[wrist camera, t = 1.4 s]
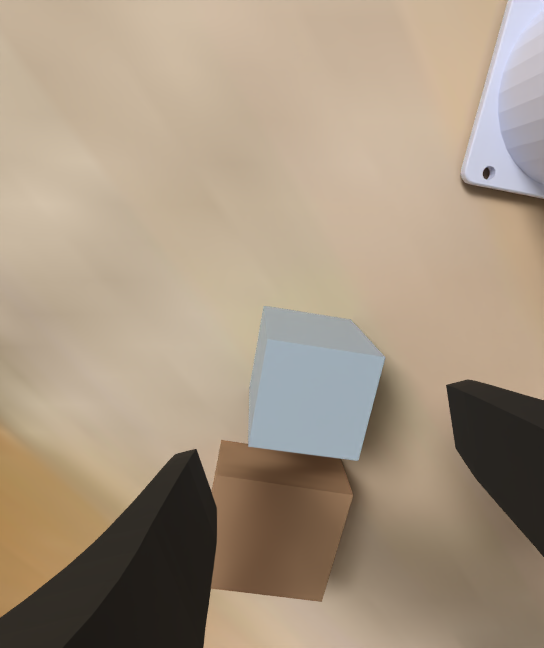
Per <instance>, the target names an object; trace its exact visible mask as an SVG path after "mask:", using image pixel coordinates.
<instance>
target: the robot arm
mask: <svg viewBox="0 0 544 648" xmlns="http://www.w3.org/2000/svg"><path fill="white" fill-rule="evenodd" d="M485 168H488V169H489V171H490V175H489V177H488V179H484V177H483V170H484V169H485ZM461 177H462V179H463V181H464V182H465V183H468V184H471V185H476V186H481V187H486V188H491V189H496V190H501V191H506V192H511V193H516V194H522V195H527V196H532V197H537V198H542V199H544V0H508V2H507V6H506V9H505V13H504V16H503V20H502V24H501V27H500V31H499V35H498V38H497V42H496V45H495V49H494V53H493V56H492V60H491V63H490V67H489V71H488V74H487V78H486V82H485V85H484V89H483V92H482V96H481V100H480V103H479V107H478V110H477V114H476V118H475V121H474V125H473V129H472V132H471V136H470V139H469V143H468V147H467V150H466V154H465V158H464V161H463V165H462V168H461ZM446 387H447V394H448V400H449V407H450V414H451V420H452V427H453V434H454V441H455V447H456V449H457V451H458V453H459V454H460V456H461V457H462V459H463V460H464V462H465V463H466V465H467V466H468V468H469V469H470V471H471V472H472V474H473V475H474V477H475V478H476V479H477V480H478V482H479V483H480V484H481V485H482V486H483V488H484V489H485V490H486V491H487V492H488V493H489V495H490V496H491V497H492V498H493V499H494V500H495V501H496V503H497V504H498V505H499V506H500V507H501V508H502V509H503V511H504V512H505V513H506V514H507V515H508V516H509V517H510V519H511V520H512V521H513V522H514V523H515V524H516V525H517V527H518V528H519V529H520V530H521V531H522V532H523V533H524V535H525V536H526V537H527V538H528V539H529V540H530V541H531V543H532V544H533V545H534V546H535V547H536V548H537V549H538V551H539V552H540V553H541V554H542V556H543V557H544V400H540V399H537V398H533V397H530V396H526V395H523V394H519V393H516V392H513V391H509V390H506V389H502V388H499V387H496V386H492V385H489V384H485V383H481V382H477V381H473V380H464V381H460V382H456V383H452V384H448V385H446ZM216 546H217V507H216V504H215V501H214V498H213V495H212V492H211V489H210V487H209V484H208V481H207V478H206V475H205V472H204V469H203V467H202V464H201V461H200V458H199V455H198V452H197V450H196V449H194V450H190V451H186V452H182V453H178V454H175V455H174V456H173V457H172V458H171V459H170V460H169V461H168V462H167V463H166V465H165V466H164V467H163V468H162V469H161V470H160V471H159V473H158V474H157V475H156V476H155V477H154V478H153V480H152V481H151V482H150V483H149V484H148V485H147V487H146V488H145V489H144V490H143V491H142V492H141V493H140V495H139V496H138V497H137V498H136V499H135V500H134V501H133V502H132V504H131V505H130V506H129V507H128V508H127V509H126V510H125V511H124V512H123V513H122V514H121V515H120V516H119V517H118V518H117V519H116V520H115V522H114V523H113V524H112V525H111V526H110V527H109V528H108V529H107V530H106V531H105V532H104V533H103V534H102V535H101V536H100V537H99V538H98V539H97V540H96V541H95V542H94V543H93V544H91V545H90V546H89V547H88V548H87V549H86V550H85V551H84V552H83V553H82V554H80V555H79V556H78V557H77V558H76V559H75V560H74V561H73V562H71V563H70V564H69V565H68V566H67V567H66V568H64V569H63V570H62V571H61V572H59V573H58V574H57V575H56V576H54V577H53V578H52V579H51V580H49V581H48V582H47V583H46V584H44V585H43V586H42V587H41V588H39V589H38V590H37V591H36V592H34V593H33V594H32V595H31V596H29V597H28V598H27V599H25V600H24V601H23V602H21V603H20V604H19V605H17V606H16V607H14V608H13V609H12V610H10V611H9V612H7V613H6V614H5V615H3V616H2V617H1V618H0V648H203V646H204V635H205V627H206V619H207V612H208V605H209V598H210V591H211V584H212V576H213V569H214V561H215V554H216Z"/></svg>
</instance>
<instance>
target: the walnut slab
mask: <svg viewBox="0 0 544 648" xmlns="http://www.w3.org/2000/svg"><path fill="white" fill-rule="evenodd" d="M212 495H213V498H214V501H215V504H216V507H217V546H216V554H215V561H214V569H213V576H212V584H211V589H220V590H228V591H237V592H245V593H253V594H262V595H270V596H278V597H287V598H295V599H304V600H312V601H320V602H322V599H323V595H324V592H325V589H326V585H327V582H328V579H329V575H330V572H331V568H332V565H333V562H334V558H335V555H336V552H337V548H338V545H339V542H340V538H341V535H342V531H343V528H344V525H345V521H346V518H347V515H348V511H349V508H350V505H351V501H352V498H353V493H352V490H351V487H350V484H349V481H348V479H347V476H346V473H345V470H344V467H343V464H342V462H341V459H340V458H333V457H325V456H317V455H309V454H302V453H294V452H286V451H278V450H271V449H263V448H255V447H248V444H244V443H237V442H231V441H224V440H221V445H220V450H219V456H218V461H217V466H216V471H215V477H214V482H213V487H212Z"/></svg>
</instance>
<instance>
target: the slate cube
mask: <svg viewBox="0 0 544 648" xmlns="http://www.w3.org/2000/svg"><path fill="white" fill-rule="evenodd" d="M384 360H385V356H384V355H383V354H382V353H381V352H380V351H379V350H378V349H377V348H376V347H375V345H374V344H373V343H372V342H371V341H370V340H369V339H368V338H367V337H366V336H365V335H364V333H363V332H362V331H361V330H360V329H359V328H358V327H357V326H356V325H355V324H354V323H353V322H352V320H350V319H344V318H337V317H331V316H325V315H319V314H312V313H306V312H300V311H294V310H287V309H281V308H275V307H269V306H264V307H263V313H262V319H261V325H260V330H259V336H258V342H257V348H256V354H255V359H254V365H253V371H252V377H251V383H250V392H249V434H248V447H255V448H263V449H271V450H278V451H286V452H294V453H302V454H309V455H317V456H325V457H333V458H340V459H348V460H356V461H358V460H359V456H360V452H361V449H362V445H363V441H364V437H365V433H366V429H367V425H368V422H369V418H370V414H371V410H372V406H373V402H374V399H375V395H376V391H377V387H378V383H379V379H380V375H381V372H382V368H383V364H384Z"/></svg>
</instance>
